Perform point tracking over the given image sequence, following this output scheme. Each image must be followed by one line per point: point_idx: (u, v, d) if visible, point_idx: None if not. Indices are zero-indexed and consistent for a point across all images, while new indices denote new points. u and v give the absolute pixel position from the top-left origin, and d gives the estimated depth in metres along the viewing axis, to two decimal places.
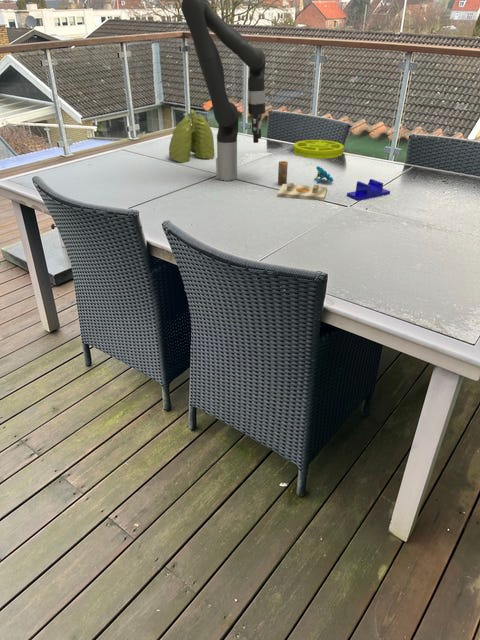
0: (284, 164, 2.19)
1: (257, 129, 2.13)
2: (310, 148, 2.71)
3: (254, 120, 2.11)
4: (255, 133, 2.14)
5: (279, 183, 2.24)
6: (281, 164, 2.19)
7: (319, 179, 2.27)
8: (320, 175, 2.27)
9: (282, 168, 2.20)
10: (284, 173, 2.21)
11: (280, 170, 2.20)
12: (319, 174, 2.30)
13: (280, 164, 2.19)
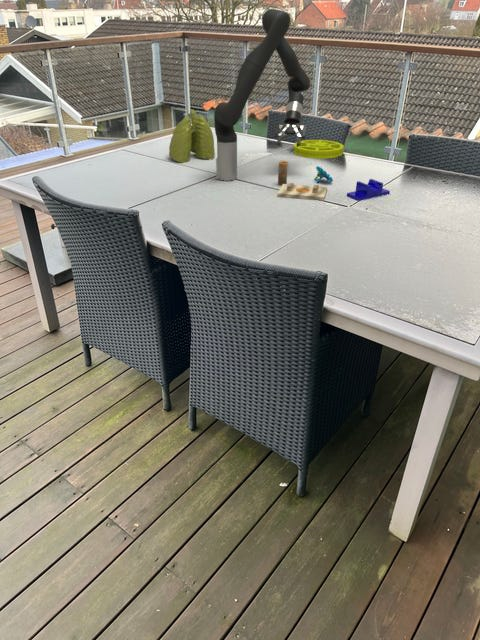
0: (284, 164, 2.19)
1: (305, 135, 2.28)
2: (310, 148, 2.71)
3: (305, 127, 2.27)
4: (302, 138, 2.27)
5: (279, 183, 2.24)
6: (281, 164, 2.19)
7: (319, 179, 2.27)
8: (320, 175, 2.27)
9: (282, 168, 2.20)
10: (284, 173, 2.21)
11: (280, 170, 2.20)
12: (319, 174, 2.30)
13: (280, 164, 2.19)
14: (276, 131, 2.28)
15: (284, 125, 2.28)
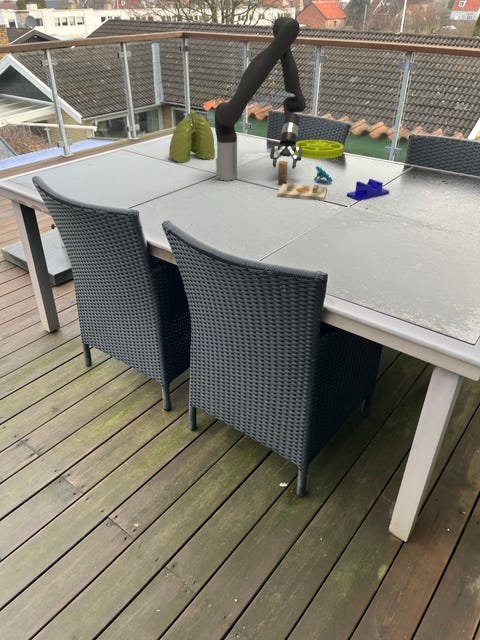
0: (284, 164, 2.19)
1: None
2: (310, 148, 2.71)
3: (301, 148, 2.24)
4: (298, 159, 2.23)
5: (279, 183, 2.24)
6: (281, 164, 2.19)
7: (318, 179, 2.27)
8: (319, 175, 2.27)
9: (282, 168, 2.20)
10: (284, 173, 2.21)
11: (280, 170, 2.20)
12: (319, 174, 2.30)
13: (280, 164, 2.19)
14: (271, 153, 2.25)
15: (279, 146, 2.25)
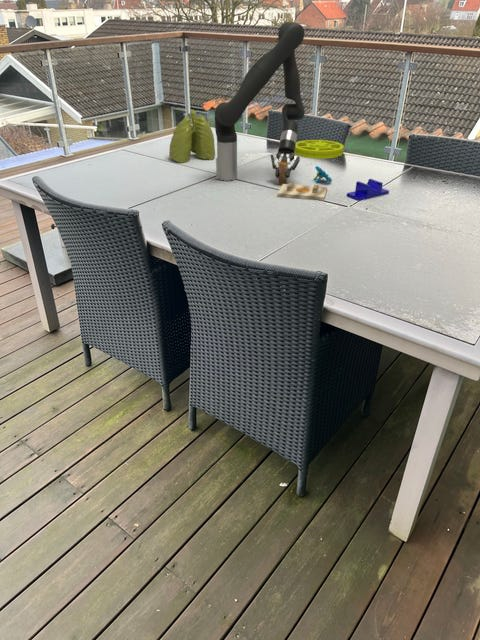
0: (284, 164, 2.19)
1: (295, 167, 2.23)
2: (310, 148, 2.71)
3: (299, 159, 2.22)
4: (292, 169, 2.22)
5: (279, 183, 2.24)
6: (281, 164, 2.19)
7: (318, 179, 2.27)
8: (319, 175, 2.27)
9: (282, 168, 2.20)
10: (284, 173, 2.21)
11: (280, 170, 2.20)
12: (318, 174, 2.30)
13: (280, 164, 2.19)
14: (273, 162, 2.23)
15: (278, 154, 2.23)
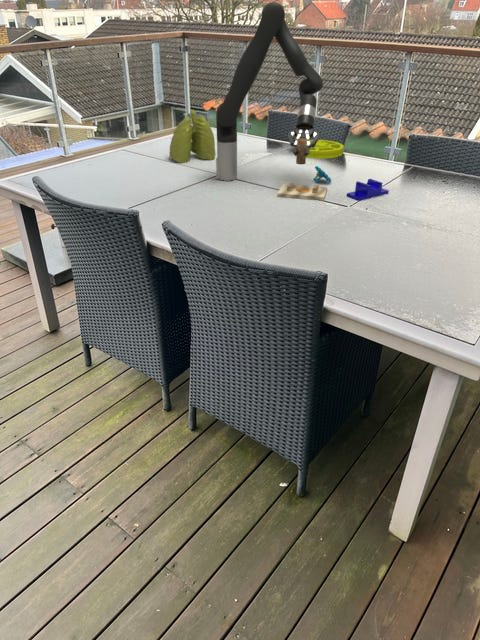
0: (303, 141, 2.04)
1: (315, 144, 2.08)
2: (310, 148, 2.71)
3: (319, 135, 2.07)
4: (312, 146, 2.07)
5: (298, 162, 2.09)
6: (300, 141, 2.04)
7: (317, 179, 2.27)
8: (319, 175, 2.27)
9: (301, 145, 2.05)
10: (304, 150, 2.06)
11: (299, 147, 2.06)
12: (318, 174, 2.30)
13: (299, 141, 2.04)
14: (291, 139, 2.08)
15: (296, 131, 2.09)
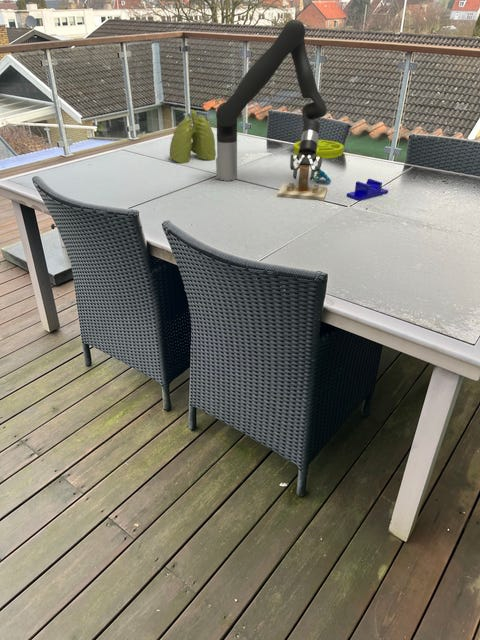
0: (306, 168, 2.07)
1: (319, 168, 2.10)
2: None
3: None
4: (317, 170, 2.09)
5: (300, 188, 2.12)
6: (302, 168, 2.07)
7: (317, 179, 2.27)
8: (318, 175, 2.27)
9: (303, 172, 2.07)
10: (306, 177, 2.09)
11: (301, 174, 2.08)
12: (318, 174, 2.30)
13: (301, 168, 2.07)
14: (291, 163, 2.10)
15: (299, 155, 2.11)
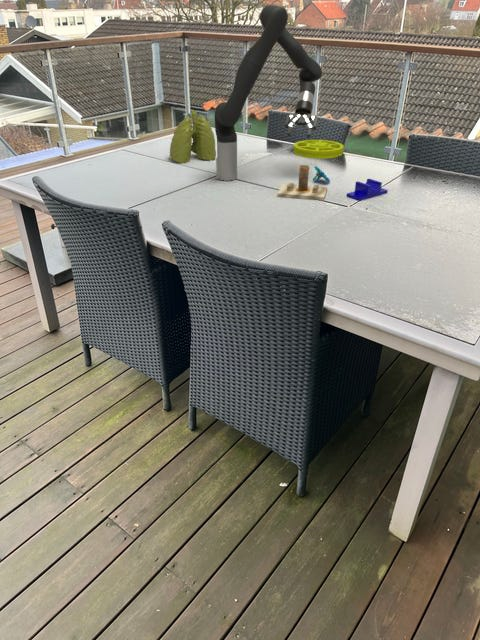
0: (305, 168, 2.07)
1: None
2: (310, 148, 2.71)
3: None
4: (313, 128, 2.20)
5: (300, 188, 2.12)
6: (302, 168, 2.07)
7: (316, 179, 2.27)
8: (317, 175, 2.27)
9: (303, 172, 2.07)
10: (305, 177, 2.09)
11: (301, 175, 2.08)
12: (317, 174, 2.30)
13: (301, 168, 2.07)
14: (286, 121, 2.22)
15: (295, 115, 2.22)
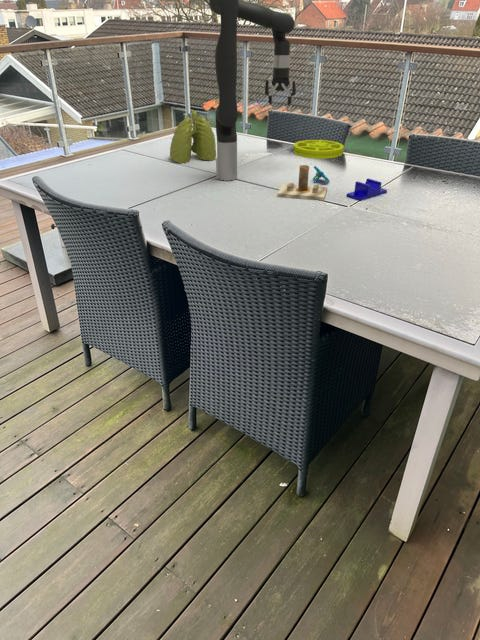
0: (305, 168, 2.07)
1: (295, 90, 2.28)
2: (310, 148, 2.71)
3: (295, 82, 2.25)
4: None
5: (300, 188, 2.12)
6: (302, 168, 2.07)
7: (315, 179, 2.27)
8: (317, 175, 2.27)
9: (303, 172, 2.07)
10: (305, 177, 2.09)
11: (301, 175, 2.08)
12: (317, 174, 2.30)
13: (301, 168, 2.07)
14: (266, 90, 2.28)
15: (273, 82, 2.26)
